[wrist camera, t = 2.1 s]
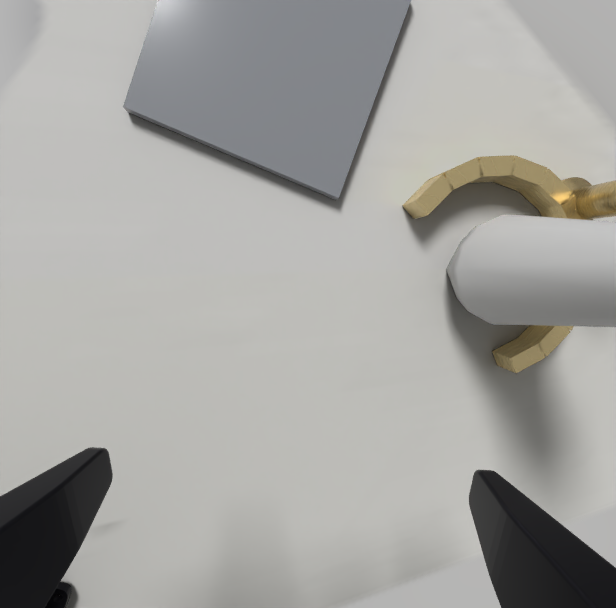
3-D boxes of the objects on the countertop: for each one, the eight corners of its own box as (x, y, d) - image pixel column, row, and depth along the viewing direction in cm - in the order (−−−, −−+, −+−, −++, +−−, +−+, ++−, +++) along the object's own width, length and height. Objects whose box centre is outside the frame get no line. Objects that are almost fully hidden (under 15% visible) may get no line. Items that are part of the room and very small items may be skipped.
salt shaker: (478, 198, 21) (854, 96, 8) (540, 263, 22) (956, 267, 9) (414, 276, 20) (686, 301, 8) (479, 337, 22) (810, 447, 9)
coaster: (336, 200, 19) (338, 198, 19) (127, 112, 17) (123, 106, 16) (409, -1, 19) (414, -10, 18) (202, -118, 16) (200, -133, 16)
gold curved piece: (499, 369, 22) (590, 409, 16) (399, 200, 20) (462, 174, 14) (624, 274, 23) (755, 279, 17) (541, 100, 20) (659, 35, 15)
